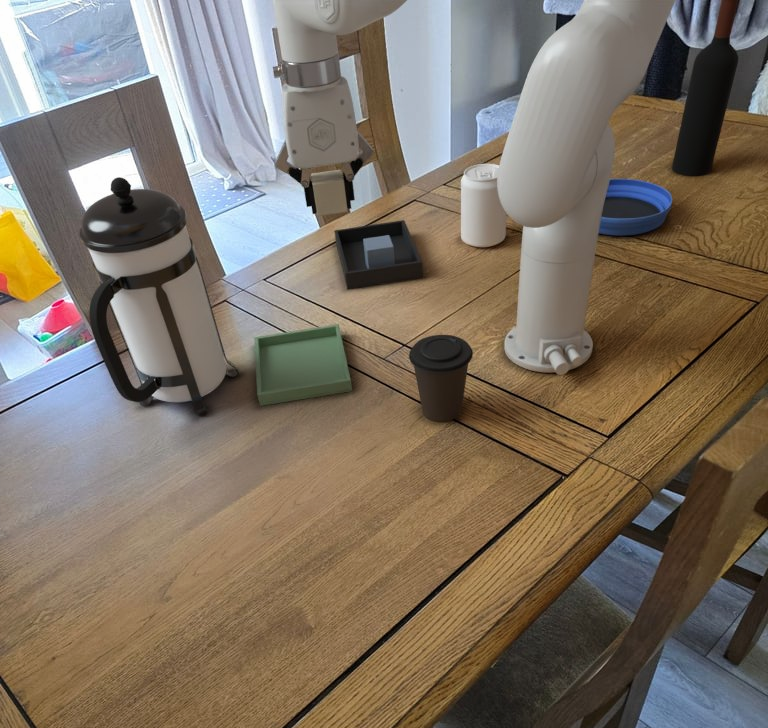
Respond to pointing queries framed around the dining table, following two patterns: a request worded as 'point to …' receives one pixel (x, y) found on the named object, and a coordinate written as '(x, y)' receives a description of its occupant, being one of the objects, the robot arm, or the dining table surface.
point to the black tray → (404, 268)
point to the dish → (301, 365)
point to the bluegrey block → (378, 251)
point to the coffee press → (152, 297)
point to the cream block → (329, 192)
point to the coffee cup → (441, 375)
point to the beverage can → (481, 207)
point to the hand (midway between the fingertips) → (331, 206)
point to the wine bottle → (707, 98)
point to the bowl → (633, 207)
